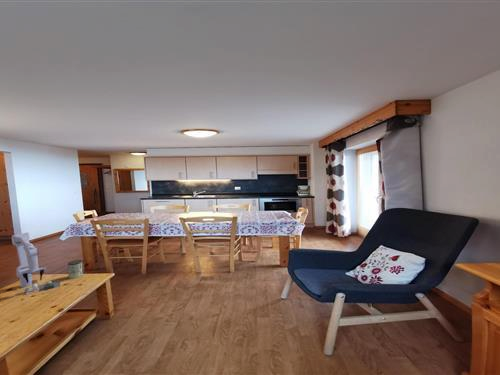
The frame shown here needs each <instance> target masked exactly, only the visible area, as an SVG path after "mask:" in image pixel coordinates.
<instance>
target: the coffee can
mask: <svg viewBox="0 0 500 375" xmlns="http://www.w3.org/2000/svg"><path fill="white" fill-rule="evenodd" d="M67 271H68V273H67V274H68V279H69V280H74V279H79V278H82V276H84V274H83V261H82V259H76V260H70V261H68V262H67Z"/></svg>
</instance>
